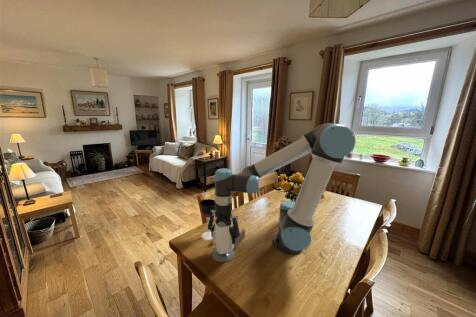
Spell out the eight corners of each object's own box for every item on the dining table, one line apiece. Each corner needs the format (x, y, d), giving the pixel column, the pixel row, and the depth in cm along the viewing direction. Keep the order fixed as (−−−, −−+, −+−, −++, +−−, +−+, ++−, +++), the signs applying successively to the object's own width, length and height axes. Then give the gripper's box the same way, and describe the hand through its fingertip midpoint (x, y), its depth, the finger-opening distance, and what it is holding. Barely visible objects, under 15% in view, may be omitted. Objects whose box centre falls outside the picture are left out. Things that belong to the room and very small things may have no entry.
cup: (218, 257, 87) (218, 228, 84) (213, 247, 94) (213, 220, 90) (233, 253, 90) (233, 225, 87) (227, 243, 96) (228, 217, 93)
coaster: (238, 250, 95) (238, 249, 94) (227, 265, 85) (227, 264, 85) (219, 243, 99) (219, 242, 99) (207, 257, 90) (207, 256, 89)
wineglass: (213, 241, 101) (213, 206, 97) (198, 238, 103) (197, 204, 99) (218, 232, 109) (218, 200, 105) (203, 230, 111) (203, 198, 106)
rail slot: (244, 236, 105) (245, 229, 104) (235, 250, 95) (235, 242, 94) (225, 230, 110) (226, 224, 109) (214, 242, 100) (214, 235, 99)
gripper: (248, 204, 85) (246, 248, 90) (208, 195, 94) (209, 235, 99) (241, 211, 78) (240, 258, 83) (199, 200, 87) (200, 243, 92)
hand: (223, 245), depth 91 cm, fingers closed on cup, 9 cm apart
